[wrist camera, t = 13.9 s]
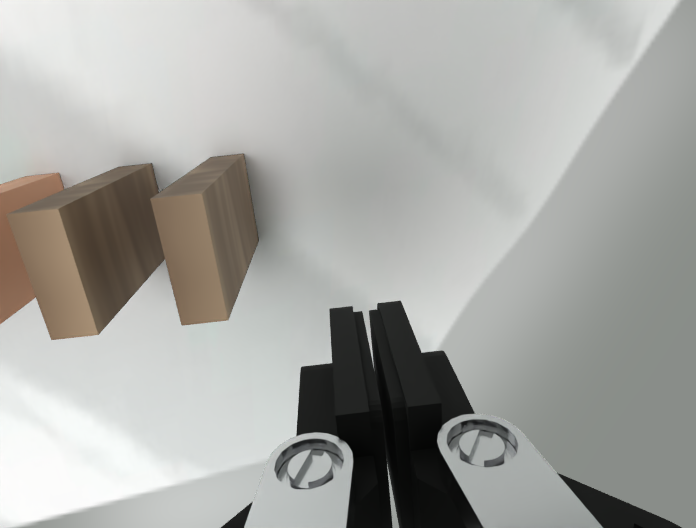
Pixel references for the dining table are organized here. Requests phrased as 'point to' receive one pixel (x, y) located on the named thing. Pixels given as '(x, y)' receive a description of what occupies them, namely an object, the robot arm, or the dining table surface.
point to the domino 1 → (3, 254)
